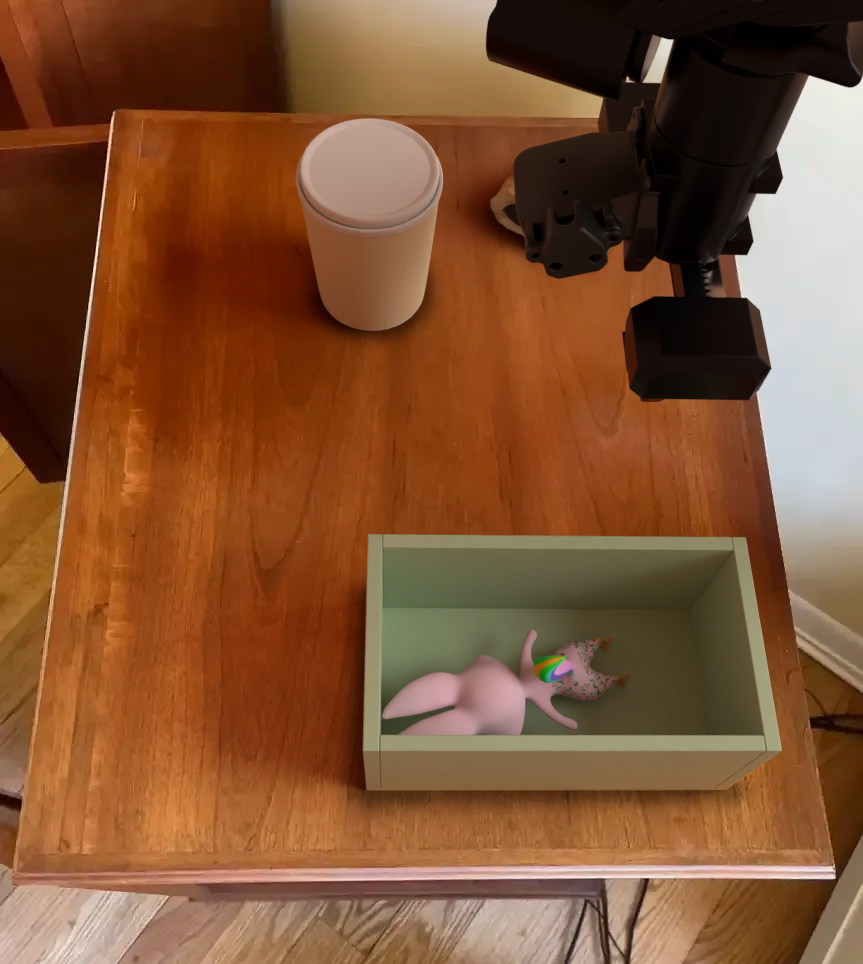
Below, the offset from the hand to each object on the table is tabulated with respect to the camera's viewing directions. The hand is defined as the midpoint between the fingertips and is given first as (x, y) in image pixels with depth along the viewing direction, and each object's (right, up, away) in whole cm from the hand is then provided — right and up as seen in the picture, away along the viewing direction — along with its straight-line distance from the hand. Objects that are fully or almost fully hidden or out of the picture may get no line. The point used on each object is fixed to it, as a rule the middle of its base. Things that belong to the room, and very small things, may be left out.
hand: (640, 332), depth 58 cm
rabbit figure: (-8, -22, 0) cm, 23 cm away
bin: (-6, -21, +2) cm, 22 cm away
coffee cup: (-16, +5, +16) cm, 24 cm away
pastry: (-3, +12, +20) cm, 24 cm away
